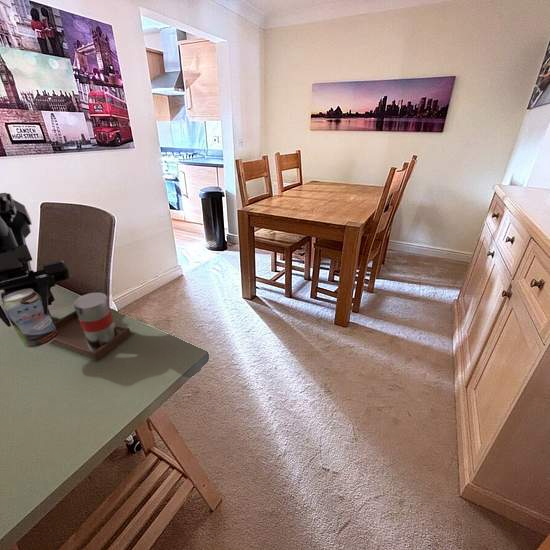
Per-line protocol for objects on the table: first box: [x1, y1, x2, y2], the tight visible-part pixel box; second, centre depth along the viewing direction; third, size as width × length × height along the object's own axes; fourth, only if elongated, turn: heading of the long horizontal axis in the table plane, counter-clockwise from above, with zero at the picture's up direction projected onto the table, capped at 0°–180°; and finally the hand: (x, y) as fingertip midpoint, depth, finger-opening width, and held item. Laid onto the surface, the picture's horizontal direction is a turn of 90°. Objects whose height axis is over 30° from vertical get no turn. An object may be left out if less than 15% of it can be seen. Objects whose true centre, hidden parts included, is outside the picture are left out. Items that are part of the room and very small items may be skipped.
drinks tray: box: [49, 310, 132, 362], centre depth 76 cm, size 19×10×2 cm, turn 68°
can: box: [73, 292, 117, 350], centre depth 71 cm, size 7×7×12 cm
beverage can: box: [1, 289, 58, 349], centre depth 62 cm, size 6×7×12 cm
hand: (28, 320), depth 60 cm, fingers closed on beverage can, 6 cm apart
